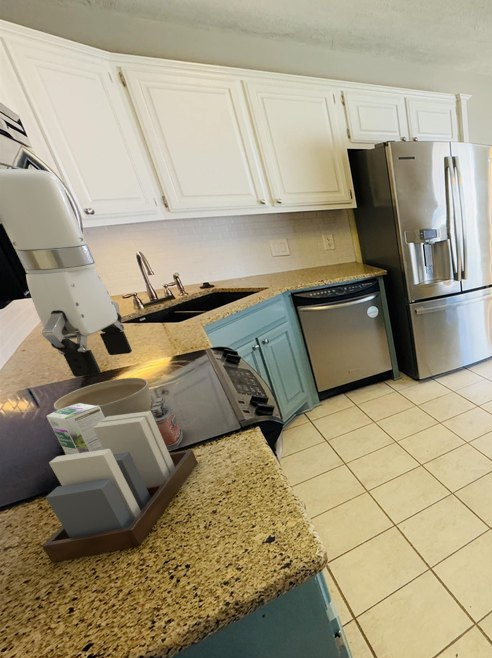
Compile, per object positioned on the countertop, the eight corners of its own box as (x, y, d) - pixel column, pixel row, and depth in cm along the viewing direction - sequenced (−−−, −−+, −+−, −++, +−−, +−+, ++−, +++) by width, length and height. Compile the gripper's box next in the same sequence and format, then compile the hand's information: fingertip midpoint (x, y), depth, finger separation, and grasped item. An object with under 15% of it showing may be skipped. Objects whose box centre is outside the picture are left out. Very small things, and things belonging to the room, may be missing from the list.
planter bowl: (82, 429, 100) (62, 389, 96) (165, 409, 109) (149, 372, 105) (68, 460, 88) (44, 417, 84) (162, 435, 97) (144, 394, 93)
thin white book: (90, 535, 68) (48, 462, 62) (97, 528, 70) (56, 456, 64) (139, 526, 70) (103, 454, 64) (145, 519, 72) (110, 448, 66)
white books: (126, 494, 78) (92, 427, 72) (137, 481, 81) (106, 416, 75) (168, 487, 80) (139, 421, 74) (178, 474, 83) (151, 410, 77)
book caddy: (52, 563, 64) (41, 546, 62) (133, 473, 84) (126, 459, 82) (140, 545, 66) (131, 529, 65) (197, 463, 87) (192, 449, 85)
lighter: (179, 446, 93) (163, 408, 89) (161, 451, 91) (143, 412, 87) (184, 430, 99) (170, 393, 95) (167, 434, 97) (151, 397, 93)
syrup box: (76, 477, 83) (42, 415, 77) (108, 460, 88) (79, 401, 82) (97, 481, 82) (64, 419, 76) (128, 463, 87) (100, 404, 81)
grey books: (77, 551, 66) (41, 492, 61) (109, 513, 73) (80, 459, 68) (129, 541, 67) (98, 483, 62) (155, 505, 75) (129, 451, 70)
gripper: (64, 253, 68) (107, 349, 75) (-22, 271, 53) (41, 388, 60) (119, 251, 70) (155, 344, 77) (51, 267, 55) (104, 381, 62)
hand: (105, 363), depth 68 cm, fingers open, 9 cm apart
